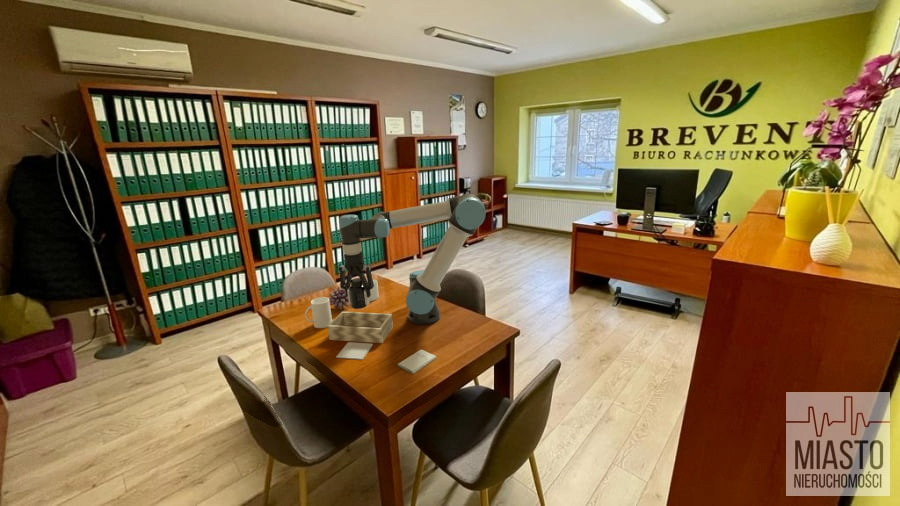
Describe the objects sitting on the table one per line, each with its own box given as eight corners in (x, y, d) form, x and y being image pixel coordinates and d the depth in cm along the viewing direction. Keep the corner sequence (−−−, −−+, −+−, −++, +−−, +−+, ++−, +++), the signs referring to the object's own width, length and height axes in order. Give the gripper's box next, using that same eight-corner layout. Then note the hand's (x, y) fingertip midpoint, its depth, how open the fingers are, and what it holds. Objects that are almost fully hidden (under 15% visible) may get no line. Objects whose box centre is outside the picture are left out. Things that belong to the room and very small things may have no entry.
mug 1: (309, 332, 161) (305, 308, 157) (304, 325, 167) (300, 302, 164) (335, 324, 168) (332, 300, 164) (329, 317, 174) (325, 295, 171)
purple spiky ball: (329, 305, 188) (326, 284, 184) (353, 302, 191) (350, 281, 187) (328, 314, 177) (325, 292, 174) (353, 311, 180) (351, 289, 177)
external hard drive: (398, 367, 135) (421, 352, 144) (413, 375, 130) (436, 359, 139) (397, 363, 134) (420, 348, 143) (413, 371, 129) (436, 355, 138)
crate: (393, 326, 163) (391, 314, 161) (382, 343, 150) (381, 329, 148) (343, 324, 167) (342, 311, 166) (329, 339, 154) (327, 326, 152)
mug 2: (382, 298, 195) (380, 282, 192) (367, 302, 189) (365, 286, 187) (371, 291, 204) (369, 276, 201) (356, 296, 198) (354, 280, 196)
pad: (373, 344, 149) (373, 343, 149) (362, 359, 139) (362, 358, 139) (348, 342, 151) (348, 342, 151) (336, 357, 141) (336, 356, 141)
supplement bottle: (369, 302, 158) (366, 276, 155) (366, 309, 152) (363, 282, 148) (353, 302, 158) (350, 277, 155) (349, 309, 152) (346, 283, 148)
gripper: (378, 250, 150) (384, 300, 156) (334, 249, 153) (342, 299, 160) (372, 255, 143) (378, 308, 149) (326, 255, 146) (334, 306, 153)
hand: (359, 303), depth 155 cm, fingers closed on supplement bottle, 7 cm apart
